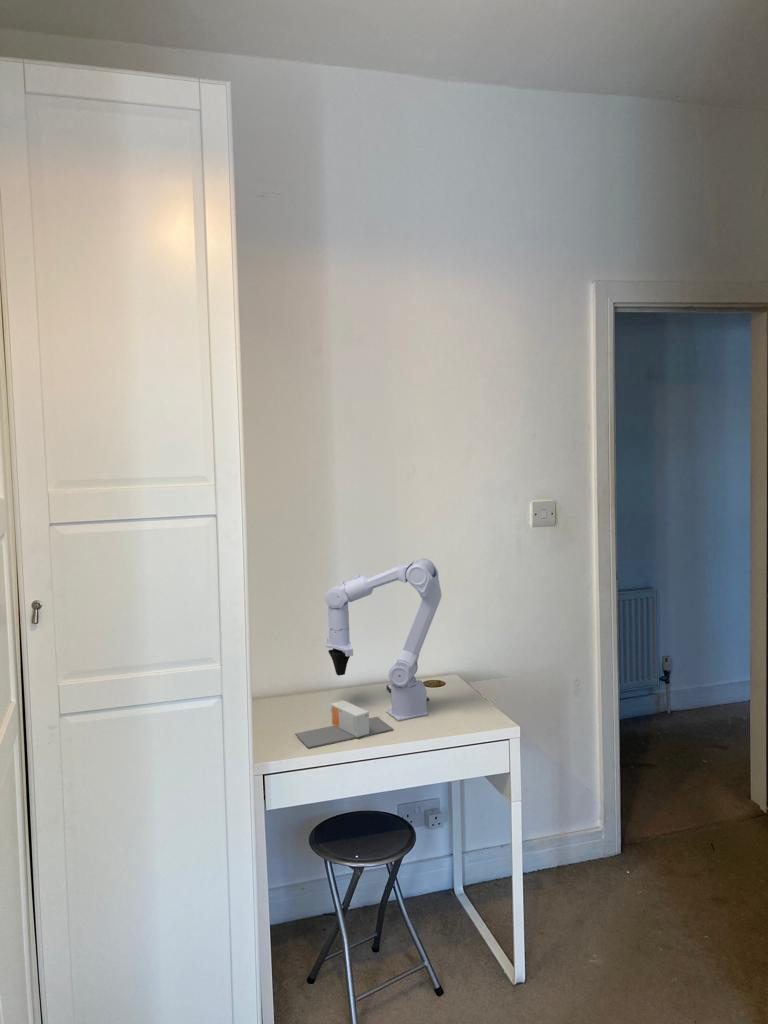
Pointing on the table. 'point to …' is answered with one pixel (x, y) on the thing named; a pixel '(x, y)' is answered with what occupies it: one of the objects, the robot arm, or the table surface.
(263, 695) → the table surface
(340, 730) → the mat
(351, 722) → the skincare box
